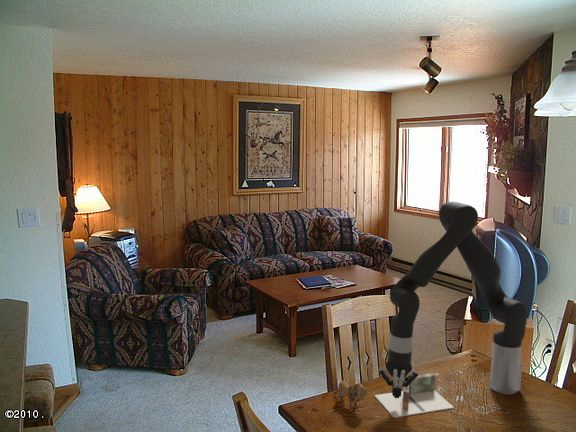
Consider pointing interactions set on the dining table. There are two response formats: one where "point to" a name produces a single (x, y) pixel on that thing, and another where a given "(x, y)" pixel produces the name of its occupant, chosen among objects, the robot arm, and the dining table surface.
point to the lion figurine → (351, 393)
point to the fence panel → (406, 398)
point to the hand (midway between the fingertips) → (396, 397)
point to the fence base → (422, 383)
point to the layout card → (414, 403)
